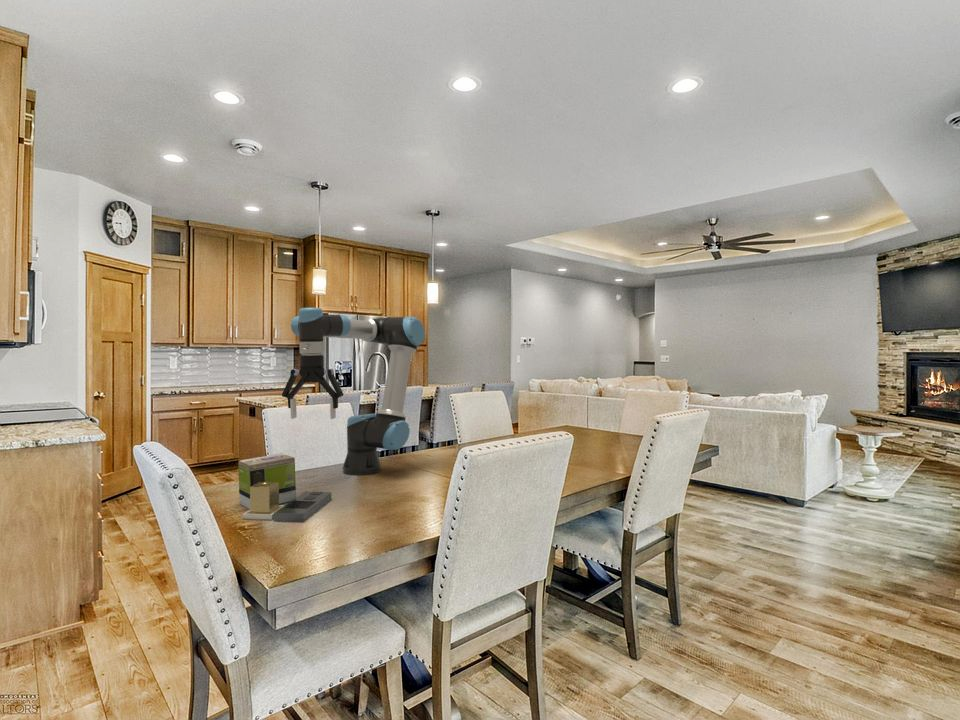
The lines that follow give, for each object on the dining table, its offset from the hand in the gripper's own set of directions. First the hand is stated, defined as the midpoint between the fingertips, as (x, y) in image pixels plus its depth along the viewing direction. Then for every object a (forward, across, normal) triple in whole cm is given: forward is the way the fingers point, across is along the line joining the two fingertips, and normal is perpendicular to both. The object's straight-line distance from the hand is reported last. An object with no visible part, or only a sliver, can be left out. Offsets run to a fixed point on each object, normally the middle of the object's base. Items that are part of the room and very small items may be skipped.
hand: (313, 418), depth 174 cm
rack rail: (+27, +1, -11) cm, 29 cm away
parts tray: (+27, -9, -17) cm, 33 cm away
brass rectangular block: (+26, -9, -17) cm, 33 cm away
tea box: (+27, -14, -5) cm, 31 cm away
